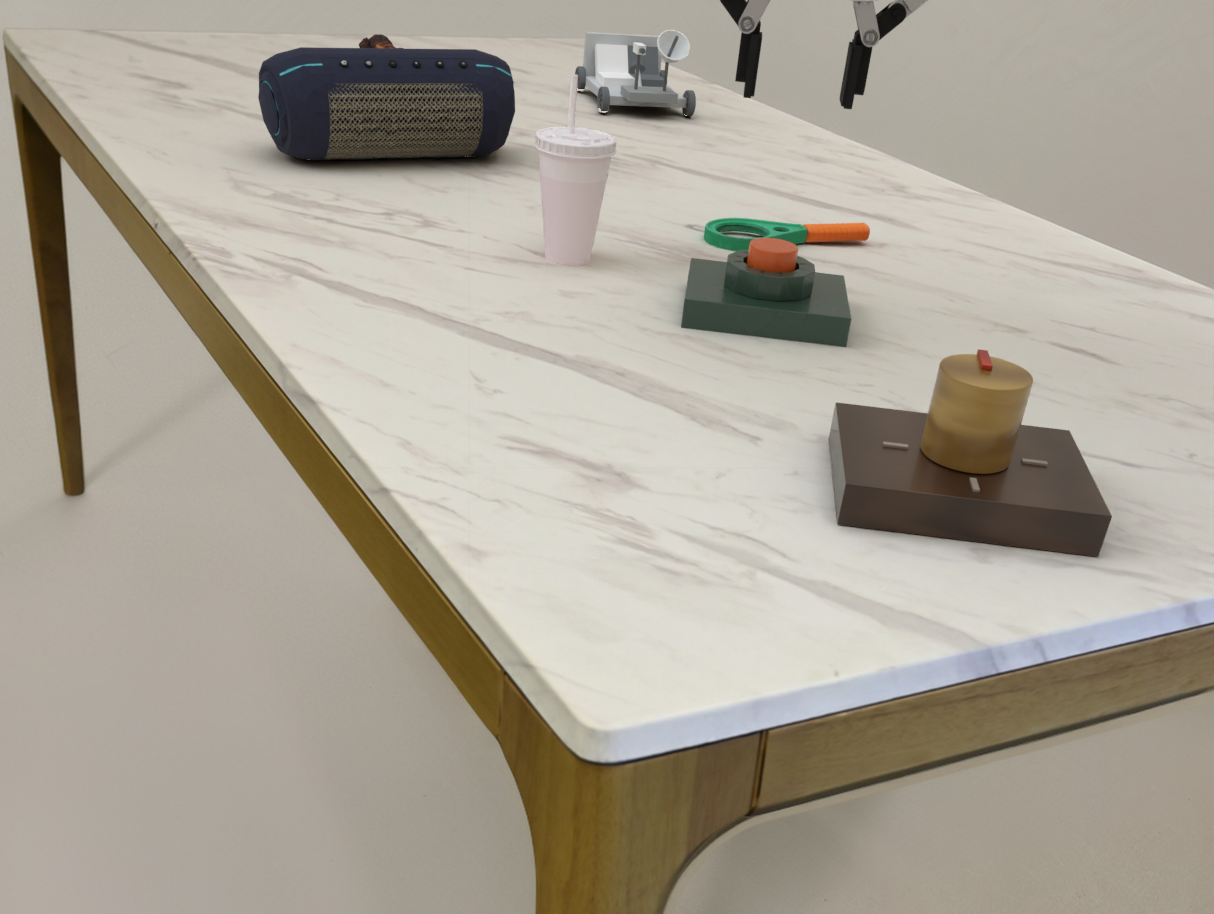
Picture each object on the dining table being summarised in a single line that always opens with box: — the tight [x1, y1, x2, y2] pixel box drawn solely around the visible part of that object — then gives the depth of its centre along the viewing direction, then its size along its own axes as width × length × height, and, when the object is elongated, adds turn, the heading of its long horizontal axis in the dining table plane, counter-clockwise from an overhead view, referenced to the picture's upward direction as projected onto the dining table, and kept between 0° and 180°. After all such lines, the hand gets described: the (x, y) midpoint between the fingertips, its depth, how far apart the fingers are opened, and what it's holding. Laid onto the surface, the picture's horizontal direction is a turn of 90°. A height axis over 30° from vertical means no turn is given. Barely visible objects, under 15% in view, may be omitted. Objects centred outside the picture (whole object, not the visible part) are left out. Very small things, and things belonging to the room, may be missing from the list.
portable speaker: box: [257, 47, 516, 161], centre depth 123 cm, size 25×10×10 cm, turn 115°
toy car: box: [574, 29, 697, 117], centre depth 154 cm, size 18×10×12 cm
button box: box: [680, 250, 852, 348], centre depth 95 cm, size 12×10×4 cm
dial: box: [920, 349, 1034, 474], centre depth 70 cm, size 5×5×5 cm
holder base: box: [828, 402, 1113, 558], centre depth 72 cm, size 14×11×3 cm
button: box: [747, 237, 799, 273], centre depth 93 cm, size 4×4×2 cm
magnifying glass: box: [703, 217, 871, 252], centre depth 112 cm, size 15×6×2 cm, turn 105°
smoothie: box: [534, 73, 617, 267], centre depth 99 cm, size 6×6×14 cm
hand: (797, 97), depth 87 cm, fingers open, 6 cm apart
